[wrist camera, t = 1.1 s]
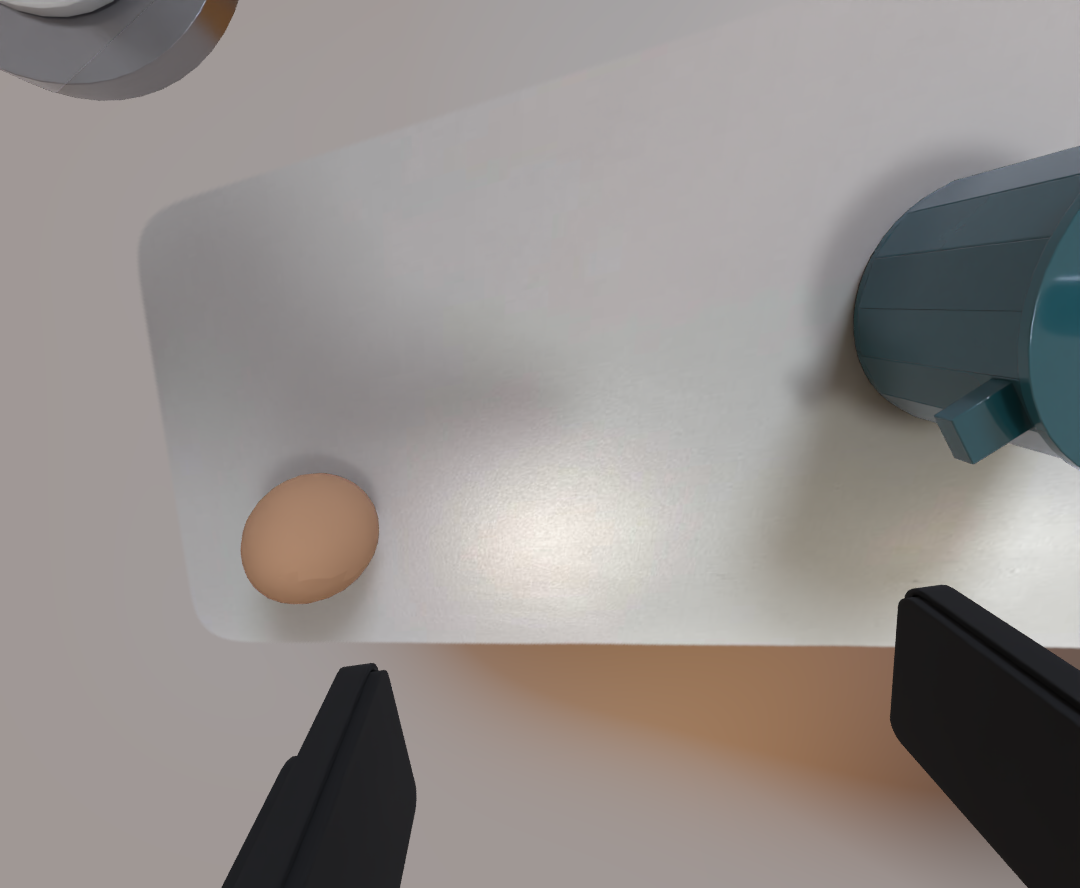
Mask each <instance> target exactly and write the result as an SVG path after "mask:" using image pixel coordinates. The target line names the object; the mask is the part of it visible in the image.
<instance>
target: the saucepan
mask: <svg viewBox="0 0 1080 888" xmlns="http://www.w3.org/2000/svg"><path fill="white" fill-rule="evenodd" d="M1079 193H1080V146H1077V147H1073V148H1070V149H1066V150H1063V151H1059V152H1055V153H1052V154H1048V155H1045V156H1041V157H1037V158H1034V159H1030V160H1027V161H1023V162H1019V163H1016V164H1012V165H1009V166H1005V167H1001V168H998V169H994V170H990V171H987V172H983V173H980V174H976V175H972V176H969V177H965V178H962V179H958V180H954V181H952V182H950V183H949V184H947V185H946V186H944V187H942V188H940V189H938V190H936V191H934V192H933V193H931V194H929V195H928V196H926V197H925V198H923V199H922V200H920V201H919V202H918V203H917V204H915V205H914V206H913V207H911V208H910V209H909V210H908V211H907V212H906V213H905V214H904V215H903V216H902V217H901V218H900V219H899V220H898V221H897V222H896V223H895V224H894V225H893V226H892V227H891V229H890V230H889V231H888V232H887V233H886V235H885V236H884V237H883V239H882V240H881V242H880V243H879V245H878V246H877V248H876V249H875V251H874V253H873V255H872V257H871V259H870V261H869V263H868V265H867V266H866V269H865V271H864V274H863V277H862V279H861V282H860V285H859V289H858V293H857V297H856V302H855V310H854V338H855V346H856V350H857V354H858V357H859V361H860V363H861V365H862V368H863V370H864V372H865V374H866V376H867V377H868V379H869V381H870V382H871V384H872V385H873V386H874V387H875V389H876V390H877V391H878V392H879V393H880V394H881V395H882V396H883V397H884V398H885V399H887V400H888V401H889V402H890V403H891V404H893V405H895V406H897V407H898V408H900V409H902V410H904V411H906V412H908V413H909V414H911V415H912V416H915V417H918V418H921V419H925V420H928V421H932V422H935V423H937V424H938V426H939V428H940V430H941V432H942V434H943V436H944V438H945V440H946V442H947V444H948V446H949V448H950V450H951V452H952V454H953V456H954V458H956V459H959V460H962V461H964V462H967V463H970V464H975V463H977V462H979V461H980V460H982V459H983V458H985V457H987V456H988V455H990V454H991V453H993V452H995V451H996V450H998V449H1000V448H1001V447H1003V446H1004V445H1006V444H1008V443H1009V444H1013V445H1016V446H1020V447H1023V448H1027V449H1030V450H1034V451H1037V452H1041V453H1044V454H1048V455H1051V456H1055V457H1058V458H1060V457H1059V456H1058V455H1057V454H1056V453H1055V452H1054V451H1052V450H1051V449H1050V447H1049V446H1048V445H1047V444H1046V442H1045V441H1044V440H1043V439H1042V437H1041V436H1040V435H1039V433H1038V432H1037V430H1036V428H1035V426H1034V424H1033V423H1032V421H1031V419H1030V417H1029V415H1028V412H1027V409H1026V406H1025V403H1024V400H1023V398H1022V394H1021V388H1020V383H1019V377H1018V365H1017V343H1018V332H1019V323H1020V318H1021V314H1022V309H1023V304H1024V300H1025V296H1026V293H1027V290H1028V287H1029V284H1030V281H1031V278H1032V275H1033V272H1034V270H1035V268H1036V265H1037V263H1038V261H1039V259H1040V257H1041V254H1042V252H1043V250H1044V248H1045V246H1046V244H1047V242H1048V240H1049V239H1050V237H1051V235H1052V233H1053V232H1054V230H1055V228H1056V227H1057V225H1058V223H1059V221H1060V220H1061V218H1062V217H1063V215H1064V214H1065V212H1066V211H1067V210H1068V208H1069V207H1070V206H1071V204H1072V203H1073V201H1074V200H1075V199H1076V197H1077V196H1078V194H1079Z"/></svg>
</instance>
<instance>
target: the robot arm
mask: <svg viewBox="0 0 1080 888" xmlns="http://www.w3.org/2000/svg"><path fill="white" fill-rule="evenodd" d="M112 1H114V0H0V3H1V4H3V5H6V6H8V7H10V8H13V9H15V10H17V11H22V12H26V13H30V14H35V15H39V16H51V17H69V16H74V15H79V14H84V13H88V12H92V11H94V10H96V9H98V8H100V7H102V6H104V5H106V4H109V3H111V2H112ZM890 721H891V726H892V728H893V731H894V733H895V735H896V737H897V738H898V740H899V741H900V742H901V744H902V745H903V746H904V747H905V748H906V749H907V751H908V752H909V753H910V754H911V755H912V756H913V757H914V758H915V760H916V761H917V762H918V763H919V764H920V765H921V766H922V767H923V769H924V770H925V771H926V772H927V773H928V774H929V775H930V777H931V778H932V779H933V780H934V781H935V782H936V784H937V785H938V786H939V787H940V788H941V789H942V790H943V792H944V793H945V794H946V795H947V796H948V797H949V798H950V799H951V801H952V802H953V803H954V804H955V805H956V806H957V808H958V809H959V810H960V811H961V812H962V813H963V814H964V815H965V817H966V818H967V819H968V820H969V821H970V822H971V823H972V825H973V826H974V827H975V828H976V829H977V830H978V831H979V833H980V834H981V835H982V836H983V837H984V838H985V839H986V840H987V842H988V843H989V844H990V845H991V846H992V847H993V849H994V850H995V851H996V852H997V853H998V854H999V855H1000V856H1001V858H1002V859H1003V860H1004V861H1005V862H1006V863H1007V865H1008V866H1009V867H1010V868H1011V869H1012V870H1013V871H1014V873H1016V875H1018V877H1019V878H1020V879H1021V880H1022V882H1023V883H1024V884H1025V885H1026V886H1027V887H1028V888H1080V670H1078V669H1076V668H1075V667H1073V666H1072V665H1070V664H1069V663H1067V662H1066V661H1064V660H1063V659H1061V658H1060V657H1058V656H1056V655H1055V654H1053V653H1052V652H1050V651H1049V650H1047V649H1046V648H1044V647H1043V646H1041V645H1040V644H1038V643H1037V642H1035V641H1033V640H1032V639H1030V638H1029V637H1027V636H1026V635H1024V634H1023V633H1021V632H1020V631H1018V630H1017V629H1015V628H1013V627H1012V626H1010V625H1009V624H1007V623H1006V622H1004V621H1003V620H1001V619H1000V618H998V617H996V616H995V615H993V614H992V613H990V612H989V611H987V610H986V609H984V608H983V607H981V606H980V605H978V604H976V603H975V602H973V601H972V600H970V599H969V598H967V597H966V596H964V595H963V594H961V593H960V592H958V591H956V590H955V589H953V588H951V587H949V586H947V585H936V586H929V587H922V588H914V589H911V590H908V592H907V593H906V594H905V598H904V599H902V600H901V601H900V602H899V605H898V615H897V629H896V642H895V656H894V670H893V685H892V699H891V713H890ZM415 808H416V786H415V781H414V777H413V773H412V769H411V764H410V760H409V756H408V752H407V748H406V745H405V740H404V736H403V732H402V728H401V724H400V720H399V715H398V711H397V707H396V703H395V699H394V695H393V691H392V687H391V683H390V679H389V675H388V673H387V671H386V670H381V671H378V668H377V666H376V665H375V664H374V663H369V664H362V665H355V666H347V667H342V668H341V669H340V670H339V672H338V673H337V675H336V677H335V679H334V681H333V683H332V685H331V687H330V689H329V691H328V694H327V696H326V698H325V700H324V702H323V704H322V706H321V708H320V710H319V712H318V714H317V716H316V718H315V720H314V722H313V724H312V727H311V728H310V731H309V733H308V735H307V737H306V739H305V741H304V743H303V745H302V747H301V749H300V751H299V753H298V755H297V756H293V757H291V758H290V759H289V760H288V761H287V762H286V763H285V765H284V766H283V768H282V769H281V771H280V773H279V775H278V777H277V779H276V781H275V783H274V785H273V787H272V789H271V791H270V793H269V795H268V797H267V799H266V801H265V803H264V805H263V807H262V809H261V811H260V813H259V814H258V817H257V818H256V820H255V823H254V825H253V826H252V828H251V830H250V832H249V834H248V836H247V838H246V840H245V842H244V844H243V846H242V848H241V850H240V852H239V855H238V856H237V858H236V860H235V862H234V864H233V866H232V868H231V870H230V872H229V874H228V876H227V878H226V880H225V882H224V884H223V886H222V888H400V884H401V879H402V874H403V869H404V864H405V859H406V854H407V849H408V844H409V839H410V834H411V829H412V824H413V819H414V814H415Z"/></svg>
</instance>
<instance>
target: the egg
mask: <svg viewBox="0 0 1080 888" xmlns="http://www.w3.org/2000/svg"><path fill="white" fill-rule="evenodd" d="M378 536H379V523H378V516H377V513H376V510H375V507H374V505H373V503H372V502H371V500H370V499H369V497H368V496H367V494H366V493H365V492H364V491H363V490H362V489H361V488H359V487H358V486H357V485H356V484H355V483H353V482H351V481H349V480H347V479H345V478H342V477H339V476H336V475H332V474H327V473H315V474H305V475H300V476H297V477H295V478H292V479H289V480H287V481H285V482H283V483H281V484H280V485H278V486H276V487H275V488H273V489H272V490H271V491H270V492H269V493H268V494H267V495H266V496H264V497H263V498H262V499H261V500H260V501H259V502H258V504H257V505H256V507H255V508H254V510H253V511H252V513H251V514H250V516H249V517H248V519H247V521H246V524H245V527H244V530H243V535H242V542H241V558H242V564H243V567H244V570H245V573H246V575H247V578H248V579H249V581H250V582H251V583H252V585H253V586H254V587H255V588H256V589H257V590H258V591H259V592H260V593H262V594H263V595H265V596H266V597H267V598H269V599H272V600H275V601H278V602H280V603H288V604H308V603H312V602H316V601H319V600H323V599H326V598H329V597H331V596H333V595H335V594H337V593H339V592H341V591H343V590H345V589H346V588H347V587H348V586H349V585H351V584H352V583H353V582H354V581H355V580H356V579H358V577H359V576H360V575H361V573H362V572H363V571H364V570H365V568H366V567H367V566H368V564H369V562H370V561H371V559H372V557H373V555H374V553H375V549H376V546H377V543H378Z"/></svg>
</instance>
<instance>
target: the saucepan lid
mask: <svg viewBox="0 0 1080 888" xmlns="http://www.w3.org/2000/svg"><path fill="white" fill-rule="evenodd" d="M1017 365H1018V377H1019V383H1020V388H1021V394H1022V398H1023V400H1024V403H1025V406H1026V409H1027V412H1028V415H1029V417H1030V419H1031V421H1032V423H1033V424H1034V426H1035V428H1036V430H1037V432H1038V433H1039V435H1040V436H1041V437H1042V439H1043V440H1044V441H1045V442H1046V444H1047V445H1048V446H1049V447H1050V449H1051V450H1052V451H1054V452H1055V453H1056V454H1057V455H1058V456H1059V457H1060V458H1061V459H1063V460H1064V461H1065V462H1066V463H1068V464H1069V465H1071V466H1072V467H1074V468H1076V469H1077V470H1079V471H1080V193H1079V194H1078V196H1077V197H1076V199H1075V200H1074V201H1073V203H1072V204H1071V206H1070V207H1069V208H1068V210H1067V211H1066V212H1065V214H1064V215H1063V217H1062V218H1061V220H1060V221H1059V223H1058V225H1057V227H1056V228H1055V230H1054V232H1053V233H1052V235H1051V237H1050V239H1049V240H1048V242H1047V244H1046V246H1045V248H1044V250H1043V252H1042V254H1041V257H1040V259H1039V261H1038V263H1037V265H1036V268H1035V270H1034V272H1033V275H1032V278H1031V281H1030V284H1029V287H1028V290H1027V293H1026V296H1025V300H1024V304H1023V309H1022V314H1021V318H1020V323H1019V332H1018V343H1017Z"/></svg>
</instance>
